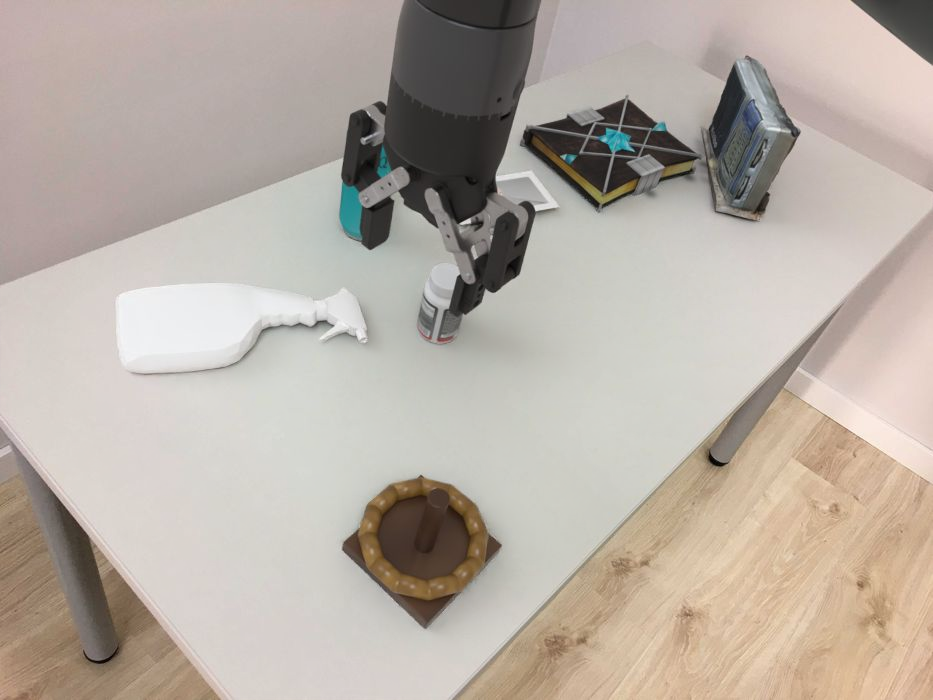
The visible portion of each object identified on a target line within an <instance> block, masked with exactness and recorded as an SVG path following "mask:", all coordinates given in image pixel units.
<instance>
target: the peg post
mask: <svg viewBox="0 0 933 700" xmlns="http://www.w3.org/2000/svg"><path fill="white" fill-rule="evenodd" d="M419 477H423V478H425V476H423V475H422V474H419V475H418V476H417V478H419ZM449 502H450V497H449V494H448V493H447V492H446V491H445V490H443V489H440V488H436V489H433V490H431V491H430V492H429V494H428V497H426V496H421V495H420V496H416V497H411V498H407V499H403V500H398V501H397V502H396V503H395V504H394V505H393V506H392V507H391V508H390V509H388V510H387V511H386V512H385V513H384V514H383V515H382V518H381V522H380V526H379V530H378V533H377V537H378V540H379V543H380V546H381V550H382V553H383V556H384V558H385V559H387V560H388V561H389V562H390V563H391V564H392V565H393V566H394V567H395V568H397V569H398V570H399V571H400V572H401V573H402V574H405V575H409V576H413V577H417V578H421V579H425V580H430V579H434V578H438V577H441V576H445V575H449V574H452V573H453V572H454V571H455V570H456V568H457V567H458V566H459V565H460V564H461V563H462V562H463V561H464V560H465V559H466V558H467V553H468V547H469V542H470V535H469V532H468V530H467V527H466V525H465V522H464V520H463V517H462V516H461V515H460V514H459V513H458V512H456V511H455V510H454V509H453V508H452V507H451V506H449ZM359 529H360V527H359V528H358V529H357V530H356V531H354V532H353V533H352V534H351V535H350V536H348V537H347V538H346V539H345V540H344V541H343V542H342V549H341V550H342V551H343V553H345V555H346V556H348V557H349V558H350V559H351V560H352V561H353V562H354V563H355V564H356V565H357V566H358V567H359V568H360V569H361V570H362V571H364V573H365V574H366V575H367V576H368V577H370V579H372V581H373V582H375V583H376V584H377V585H378V586H379V587H380V589H382V590H383V591H384V592H385V593H387V595H388V596H389V597H391V598H392V599H393V600H394V601H395V602H396V603H397V604H398V605H399V606H400V607H401V608H402V609H403V610H404V611H405V612H406V613H408V615H409V616H411V618H412V619H414V621H416V622H417V623H418V625H420V626H421V627H422V628H423V629H424V630H427V628H429V626H430V625H431V624H432V623H433V622H434V621H435V620H436V619H437V618H438V617H439V616H440V615H441V614H442V613H443V612H444V611H445V609H446V608H448V606H450V604H452V602H453V601H454V600H455V599H456V598H457V597H458V596H459V595H460V594H461V593H462V591H460V592H457V593H454V594H450V595H447V596H443V597H440V598H436V599H433V600H423V599H418V598H414V597H410V596H406V595H402V594H398V593H394V592H392V591H391V590H390V589H389V588H388V587H387V586H386V585H385V584H384V583H382V582H381V581H380V580H379V579H378V578H377V577H376V576H375V575H374V574H373V573H371V572H370V571H369V570H368V568H367V566H366V563H365V560H364V556H363V553H362V550H361V546H360V543H359V540H358V532H359ZM488 534H489V538H488V544H487V551H486V557H485V563H484V567H483V568H482V569H481V570H480V572H479V573H478V574H477V575H476V576H475V577H474V578H473V579H472V580H471V581H470V583H471V582H473V580H474V579H475V578H476V577H477V576H478V575H479V574H480V573H481V572H482V571H483V570H484V569H485V567H487V566H488V564H489V563H491V561H492V560H494V558H495V557H496V556H497V555H498V554H499V553H500V550H501V549H502V546H503V545H502V544H501V543H500V541H498V540H497V539H496V538H494V536H493V535H491V534H490V533H489V532H488Z"/></svg>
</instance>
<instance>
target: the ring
mask: <svg viewBox="0 0 933 700" xmlns="http://www.w3.org/2000/svg"><path fill="white" fill-rule="evenodd" d="M418 477H419V476H418ZM418 477H415V478H411V479H405V480H402V481H397V482H393V483H390V484H388V485H387V486H386V487H385V488H383V490H382V491H380V492H379V493H378V494H377V495H376V496H375V497H373V498H372V499H371V500H370V501H369V502H368V503H367V504H366V505H365V508H364V512H363V515H362V517H361V518H362V519H361V523H360V526H359V528H360V529H359V528H358V529H359V532H358V540H359V543H360V546H361V550H362V553H363V556H364V560H365V563H366V566H367V568H368V570H369V571H370V572H371V573H373V574H374V575H375V576H376V577H377V578H378V579H379V580H380V581H381V582H382V583H384V584H385V585H386V586H387V587H388V588H389V589H390V590H391V591H392V592H394V593H398V594H402V595H406V596H410V597H414V598H418V599H423V600H433V599H436V598H440V597H443V596H447V595H450V594H454V593H457V592H460V591H461V592H463V590H465V589H466V588H467V587H468V585H470V583H471V582H472V581H473V580H474V579H475V578H476V577H477V576H478V575H479V574H480V573H481V571H482V570H483V569H484V568H485V567H484V563H485V557H486V551H487V544H488V538H489V534H490V533H489V532H488V529H487V526H486V524H485V522H484V518H483V516H482V514H481V512H480V509H479V507H478V505H477V504H476V503H475V502H473V500H471V499H470V498H469V497H468V496H467V495H465V493H463V492H462V491H461V490H460V489H458V488H457V487H456V486H455V485H453V484H450V483H446V482H443V481H438V480H435V479H430V478H427V477H424V476H423V477H424V478H423V477H419V478H418ZM436 488H440V489H443V490H445V491H446V492H447V493H448V494H449V497H450V502H449V506H451V507H452V508H453V509H454V510H455V511H456V512H458V513H459V514H460V515H461V516H462V517H463V520H464V522H465V525H466V527H467V530H468V532H469V535H470V542H469V547H468V553H467V558H466V559H465V560H464V561H463V562H462V563H461V564H460V565H459V566H458V567H457V568H456V570H455V571H454V572H453V573H452V574H449V575H445V576H441V577H438V578H434V579H430V580H425V579H421V578H417V577H413V576H409V575H405V574H402V573H401V572H400V571H399V570H398V569H397V568H395V567H394V566H393V565H392V564H391V563H390V562H389V561H388V560H387V559H385V558H384V556H383V553H382V550H381V546H380V543H379V540H378V537H377V533H378V530H379V526H380V522H381V518H382V515H383V514H384V513H385V512H386V511H387V510H388V509H390V508H391V507H392V506H393V505H394V504H395V503H396V502H397V501H398V500H403V499H407V498H411V497H416V496H420V495H421V496H426V497H428V494H429V492H430V491H431V490H433V489H436ZM488 533H489V534H488ZM483 567H484V568H483ZM482 568H483V569H482ZM481 569H482V570H481ZM480 570H481V571H480ZM479 572H480V573H479ZM478 573H479V574H478ZM477 574H478V575H477ZM476 575H477V576H476ZM475 576H476V577H475ZM474 577H475V578H474ZM473 578H474V579H473ZM472 579H473V580H472ZM471 580H472V581H471ZM470 581H471V582H470ZM461 592H460V593H461Z"/></svg>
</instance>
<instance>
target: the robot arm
mask: <svg viewBox="0 0 933 700" xmlns="http://www.w3.org/2000/svg"><path fill="white" fill-rule="evenodd" d="M850 1H851V2H852V3H853V4H854V5H855V6H857V7H858V8H859V9H860V10H862V11H863V12H864V13H866V14H867V15H868V16H869V17H870V18H871V19H873V21H875V22H876V23H878V24H879V25H880V26H881V27H882V28H884V29H885V30H886V31H888V33H890V34H891V35H892V36H894V37H895V38H896V39H897V40H899V41H900V42H901V43H903V44H904V45H905V46H906V47H907V48H909V50H912V51H913V52H914V53H915V54H916V55H917V56H919V57H920V58H921V59H923V60H924V61H926V63H928V64H930V65H931V66H932V67H933V0H850ZM541 4H542V0H403V2H402V5H401V9H400V13H399V17H398V21H397V26H396V31H395V32H396V33H395V39H394V46H393V56H392V61H391V62H392V63H391V71H390V77H389V85H388V94H387V101H386V103H385V102H383V101H381V100H379V101H376V102H374V103H371V104H369V105H367V106H365V107H362V108H360V109H357V110H356V111H354V112H351V113H350V114H349V117H348V118H349V119H348V125H347V130H348V131H347V130H346V134H347V138H346V137H345V146H344V152H343V159H342V165H341V171H340V172H341V173H340V178H341V181H343V182H344V184H345V185H346V186H348V187H352V186H354V187H355V188H356V189H357V191H358V192H359V196H358V197H359V201H360V203H361V204H362V211H361V219H360V228H359V229H360V234H361V236H362V241H361V246H363V247H364V248H366V249H367V250H368V251H372V250H374V249H376V248H378V247H379V246H381V245H382V244H385V242H387V240H388V239H389V237H390V232H391V226H392V220H393V213H394V207H395V200H394V199H393V198H390V196H391V197H392V196H393V195H395V194H396V193H398V194H399V195H400V198H402V200H403V203H402V204H403V205H404V206H406V207H407V208H408V209H410V210H411V211H412V212H415V213H418V214H420V215H421V216H422V217H423V218H424V219H425V220H426V221H427V223H429V224H430V225H432V226H433V227H434V228H435V229H437V230H439V233H440V237H441V240H442V242H443V246H444V247H445V250H446V251H447V252H448V253H452V254H453V256H454V259H455V262H456V265H457V266H458V268H459V271H460V275H458V276H457V278H456V282H455V286H454V290H453V294H452V298H451V302H450V306H449V312H450V313H451V314H453V315H454V316H455V317H459V316H460V315H462V314H463V316H464V315H465V316H467V315H468V314H469V313H470V312H472V311H473V310H475V309H476V308H478V306H479V305H481V304H482V302H483V300H484V296H485V292H486V291H488V292H489V293H491V294H495V293H497V292H499V290H501V289H502V288H503V287H504V286H505V285H507V284H508V283H509V282H511V281H512V280H515V279H516V278H517V277H518V276H520V275H521V271H522V266H523V264H524V259H525V256H526V253H527V252H526V251H527V248H528V244H529V241H530V238H531V237H530V236H531V232H532V229H533V225H534V222H535V217H536V211H535V208H534V206H533V205H532V204H531V203H530V202H528V201H523V202H521V203H519V204H518V205H515V204H514V203H512V202H510V201H509V200H507V199H506V198H504V197H502V196H501V195H499V194H498V191H497V185H496V176H497V172H498V169H499V167H500V165H501V163H502V161H503V159H504V156H505V153H506V150H507V146H508V143H509V139H510V136H511V132H512V128H513V124H514V121H515V118H516V113H517V111H518V110H517V109H518V106H519V103H520V99H521V95H522V93H523V91H524V90H525V89H524V88H525V86H526V77H527V73H528V69H529V66H530V62H531V58H532V54H533V49H534V48H533V47H534V40H535V32H536V25H537V20H538V15H539V11H540V7H541ZM382 146H383V148H384V151H385V154H386V157H387V160H388V163H389V166H390V168H391V171H392V172H390V173H389V174H387V175H386V176H384V177H383V178H381V177H380V176H379V174H378V173H377V172H378V167H379V162H380V157H381V152H382ZM488 214H489V215H488ZM489 216H490V218H489ZM469 218H470V219H471V223H470V225H469V226H468V228H466V229H464V231H462V232H461V231H460V229H459V226H458V225H460V223H461V222H463V221H465V220H467V219H469ZM491 236H492V238H491ZM473 247H474V250H475V253H476V256H477V257H476V258H474V254H473V252H472V249H473Z"/></svg>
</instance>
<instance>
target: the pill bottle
mask: <svg viewBox="0 0 933 700" xmlns="http://www.w3.org/2000/svg"><path fill="white" fill-rule="evenodd" d="M458 275H460V271H459V268H458V265H457V264H454V263H452V262H451V263H450V262H442V263H438V264H436V265H435V266H434V267H432V268H431V270H430V273H429V277H428V280H427V281H426V283H425V285H424V287H423V292H422V295H421V296H422V297H421V301H420V306H419V311H418V315H417V321H416V329H417V331H418V334H419V335H420V337H422V338H423V339H424V340H426V341H428V342H430V343H432V344H438V345H440V344H442V345H443V344H447V343H450V342H452V341H453V340H455V338H457V336H458V334H459V331H460V328H461V324H462V320H463V316H464V314H462V315H460V316H459V317H455V316H454V315H453V314H451V313H450V312H449V306H450V302H451V298H452V294H453V290H454V286H455V282H456V278H457V276H458Z"/></svg>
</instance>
